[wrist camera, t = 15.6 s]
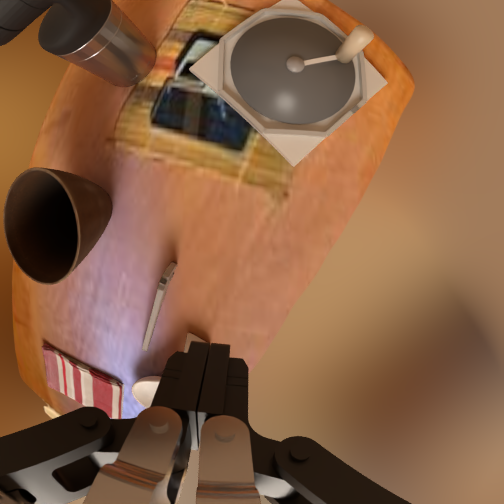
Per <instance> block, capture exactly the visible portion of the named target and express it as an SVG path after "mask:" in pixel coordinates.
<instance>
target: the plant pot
mask: <svg viewBox="0 0 504 504" xmlns="http://www.w3.org/2000/svg"><path fill="white" fill-rule="evenodd" d="M111 214H112V203H111V200H110V197H109V195H108V194H107V193H106V192H105V191H104V190H103V189H102V188H101V187H99V186H98V185H96V184H95V183H93V182H91V181H89V180H87V179H85V178H82V177H80V176H77V175H74V174H71V173H68V172H64V171H60V170H54V169H47V168H31V169H28V170H26V171H24V172H23V173H21V174H20V175H19V176H18V177H17V178H16V179H15V181H14V182H13V184H12V185H11V187H10V189H9V192H8V194H7V197H6V201H5V206H4V232H5V237H6V241H7V244H8V247H9V250H10V252H11V255H12V257H13V259H14V260H15V262H16V264H17V265H18V266H19V268H20V269H21V270H22V271H23V272H24V273H25V274H26V275H27V276H28V277H29V278H31V279H32V280H34V281H36V282H38V283H41V284H45V285H53V284H57V283H60V282H61V281H63V280H64V279H66V278H67V277H68V276H69V275H70V273H71V272H72V271H73V270H74V269H75V268H76V267H77V266H78V265H79V264H80V263H81V262H82V261H83V259H84V258H85V257H86V256H87V255H88V253H89V252H90V251H91V250H92V248H93V247H94V246H95V244H96V243H97V241H98V240H99V238H100V237H101V235H102V234H103V232H104V230H105V228H106V227H107V225H108V222H109V220H110V218H111Z"/></svg>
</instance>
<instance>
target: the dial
mask: <svg viewBox="0 0 504 504" xmlns="http://www.w3.org/2000/svg"><path fill="white" fill-rule="evenodd" d="M373 38H374V35H373V32H372V31H371V30H370V29H369V28H368V27H366V26H364V25H358V26H356V27H355V28H354V30H353V31H352V32H351V33H350V35H349V36H348V37H347V38H346V40H345V41H344V42H343V43H342V42H341V41H340V40H339V39H338V38H337V37H336V36H335V35H334V34H333V33H331V32H330V31H328V30H327V29H325V28H324V27H322V26H320V25H318V24H316V23H313V22H311V21H307V20H304V19H298V18H288V17H287V18H275V19H270V20H266V21H263V22H261V23H259V24H257V25H255V26H253V27H251V28H250V29H249V30H247V31H246V32H245V33H244V34H243V35H242V36H241V37H240V39H239V40H238V41H237V43H236V45H235V47H234V49H233V52H232V55H231V61H230V69H231V75H232V79H233V82H234V85H235V87H236V89H237V91H238V93H239V94H240V96H241V97H242V98H243V100H244V101H245V102H246V103H247V104H248V105H249V106H250V107H252V108H253V109H254V110H255V111H257V112H258V113H260V114H262V115H264V116H265V117H267V118H270V119H272V120H275V121H278V122H282V123H287V124H299V125H302V124H311V123H316V122H319V121H322V120H325V119H327V118H329V117H331V116H332V115H334V114H335V113H337V112H338V111H339V110H340V109H342V108H343V107H344V106H345V104H346V103H347V102H348V100H349V99H350V97H351V95H352V92H353V90H354V85H355V68H354V64H353V60H352V59H353V58H354V57H355V56H356V55H357V54H358V53H359V52H360V51H361V50H362V49H363V48H364V47H365V46H366V45H367V44H368V43H369V42H370V41H372V40H373Z"/></svg>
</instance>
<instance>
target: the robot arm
mask: <svg viewBox="0 0 504 504" xmlns="http://www.w3.org/2000/svg"><path fill="white" fill-rule="evenodd" d="M50 6H52V7H51V8H50ZM48 8H50V9H49V11H48V12H47V14H46V16H45V17H44V19H43V21H42V23H41V26H40V29H39V35H38V38H39V43H40V45H41V47H42V48H43V49H45V50H46V51H48V52H50V53H52V54H55V55H57V56H59V57H61V58H63V59H65V60H67V61H70V62H71V63H74V64H76V65H78V66H80V67H82V68H84V69H86V70H88V71H89V72H91V73H93V74H95V75H97V76H99V77H101V78H103V79H104V80H106V81H108V82H110V83H112V84H114V85H116V86H120V87H127V86H131V85H134V84H136V83H138V82H139V81H141V80H142V79H144V78H145V77H146V76H147V75H148V74H149V72H150V71H151V69H152V68H153V66H154V63H155V60H156V51H155V49H154V47H153V46H152V44H151V43H150V42H149V41H148V40H147V39H146V37H145V36H144V35H143V34H142V33H141V32H140V30H139V29H138V28H137V27H136V26H135V25H134V24H133V23H132V21H131V20H130V19H129V18H128V17H127V16H126V15H125V14H124V13H123V12H122V10H121V9H120V8H119V7H118V6H117V5H116V4H115V3H114V2H113V1H112V0H0V46H2V45H5V44H7V43H8V42H10V41H11V40H12V39H14V38H15V37H16V36H17V35H18V34H19V33H20V32H22V31H23V30H24V29H25V28H26V27H27V26H28V25H29V24H31V23H32V22H33V21H34V20H35V19H36V18H37V17H39V16H40V15H41V14H42V13H43V12H45V11H46V10H47V9H48ZM229 357H230V345H228V344H217V343H211V345H210V343H207V342H199V341H191V343H190V346H189V349H188V352H187V353H185V352H178V351H177V352H176V353H174V354H173V355H172V356H171V357H170V358H169V359H168V361H167V364H166V366H165V370H164V371H163V374H162V378H161V379H160V382H159V384H158V387H157V390H156V392H155V395H154V398H153V400H152V403H151V406H150V407H149V408H147V409H145V410H143V411H142V412H140V414H139V415H138V416H137V417H136V418H131V419H110V418H109V416H108V414H107V413H106V412H105V411H103V410H102V409H100V408H97V407H91V406H87V407H82V408H79V409H77V410H74V411H72V412H70V413H67V414H65V415H62V416H59V417H57V418H54V419H52V420H49V421H47V422H44V423H41V424H38V425H36V426H33V427H30V428H27V429H24V430H21V431H18V432H15V433H13V434H9V435H6V436H3V437H0V504H67V503H69V502H72V501H74V500H77V499H79V498H81V497H84V496H86V495H87V496H86V498H85V500H84V502H83V504H178V502H179V498H180V495H181V491H182V487H183V484H184V480H185V477H186V473H187V469H188V462H189V457H190V452H191V449H192V450H198V448H199V443H200V452H199V473H198V487H197V492H196V504H261V501H260V496H259V494H262V495H264V496H265V498H266V499H267V500H269V502H271V503H272V504H411V503H409V502H408V501H406V500H404V499H402V498H400V497H398V496H397V495H395V494H393V493H391V492H390V491H388V490H386V489H384V488H383V487H381V486H380V485H378V484H376V483H375V482H373V481H372V480H370V479H368V478H367V477H365V476H364V475H362V474H361V473H359V472H357V471H356V470H355V469H353V468H352V467H350V466H349V465H347V464H346V463H344V462H343V461H342V460H340V459H339V458H337V457H336V456H334V455H333V454H332V453H330V452H329V451H327V450H326V449H325V448H323V447H322V446H321V445H320V444H318V443H317V442H315V441H314V440H312V439H310V438H307V437H302V436H295V437H289V438H286V439H284V440H283V441H281V442H279V441H276V440H272V439H268V438H265V437H263V436H261V435H259V434H257V433H256V432H255V431H254V430H253V429H252V428H251V426H250V424H249V422H248V366H247V365H246V363H245V361H244V360H243V359H241V358H229Z"/></svg>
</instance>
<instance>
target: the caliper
mask: <svg viewBox="0 0 504 504" xmlns="http://www.w3.org/2000/svg"><path fill="white" fill-rule="evenodd" d="M176 267H177V264H175V263H173V262H171V263H170V265H169V266H168V267H167V269H166V270H165V272H164V274H163V275H162V278H161V280H160V282H159V283H160V284H159V286H158V288H157V289H158V291H157V295H156V298H155V302H154V305H153V310H152V314H151V317H150V321H149V324H148V328H147V332H146V336H145V339H144V343H143V347H142V350H144V351H146V352H147V350H148V347H149V344H150V341H151V337H152V334H153V330H154V327H155V324H156V320H157V317H158V314H159V311H160V307H161V304H162V302H163V300H164V297H165V294H166V290H167V287H168V285H169V283H170V281H171V279H172V277H173V275H174V270H175V268H176Z"/></svg>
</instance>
